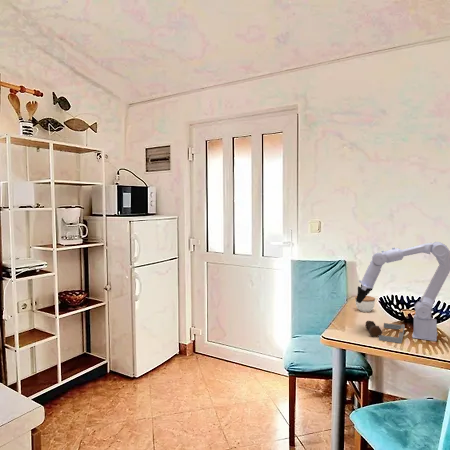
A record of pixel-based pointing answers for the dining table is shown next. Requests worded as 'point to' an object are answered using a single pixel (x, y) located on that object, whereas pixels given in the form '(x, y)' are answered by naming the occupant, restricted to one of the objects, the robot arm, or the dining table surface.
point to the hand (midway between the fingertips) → (359, 300)
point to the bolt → (373, 329)
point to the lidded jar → (366, 304)
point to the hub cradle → (393, 339)
